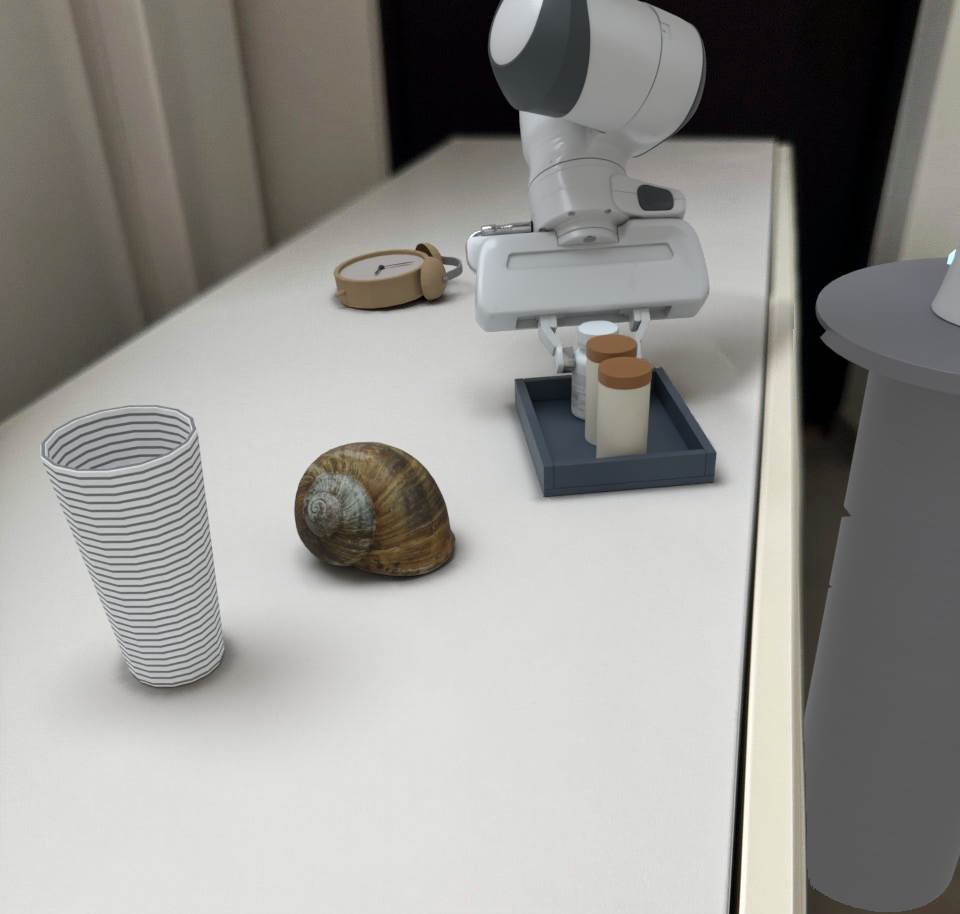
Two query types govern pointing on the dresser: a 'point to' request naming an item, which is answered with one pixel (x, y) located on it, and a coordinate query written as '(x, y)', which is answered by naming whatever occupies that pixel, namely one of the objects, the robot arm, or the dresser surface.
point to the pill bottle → (579, 372)
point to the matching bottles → (616, 396)
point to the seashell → (373, 511)
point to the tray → (572, 460)
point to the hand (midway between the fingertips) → (599, 368)
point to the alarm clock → (394, 276)
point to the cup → (143, 534)
